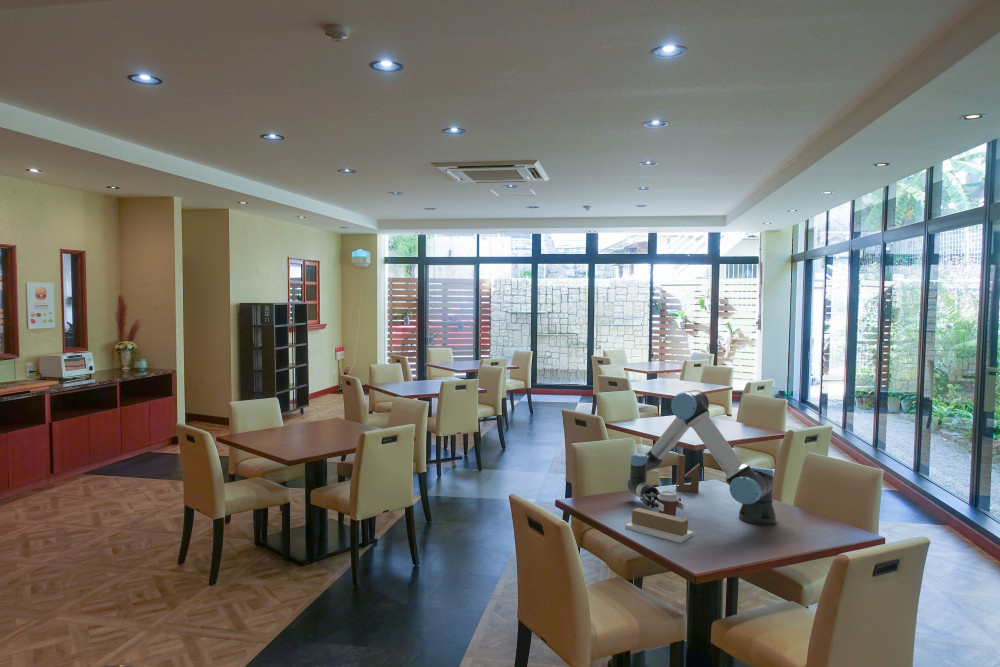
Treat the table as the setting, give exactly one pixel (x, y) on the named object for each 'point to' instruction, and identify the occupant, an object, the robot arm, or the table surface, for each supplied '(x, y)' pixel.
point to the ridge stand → (659, 525)
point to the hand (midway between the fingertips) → (673, 507)
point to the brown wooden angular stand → (687, 476)
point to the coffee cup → (668, 502)
